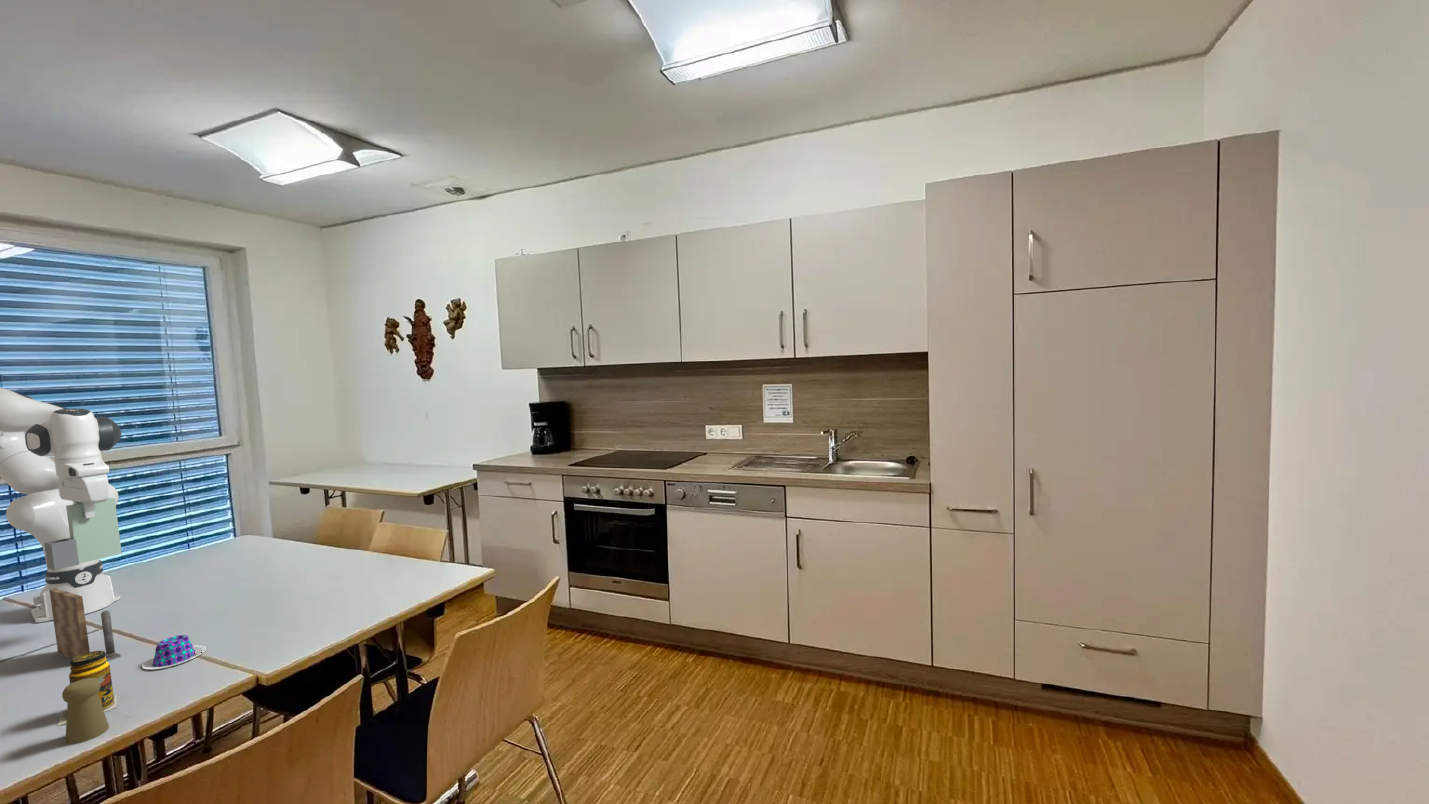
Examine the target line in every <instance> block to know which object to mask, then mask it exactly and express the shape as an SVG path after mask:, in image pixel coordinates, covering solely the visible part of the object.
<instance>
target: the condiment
mask: <svg viewBox="0 0 1429 804" xmlns="http://www.w3.org/2000/svg"><path fill="white" fill-rule="evenodd" d="M106 660H107V659H106V651H105V650H93V651H90V652H88V653H85V654H82V655H79V656H77V657H75V658H74V659H72V658H71V660H70V661H69V662H70V663H69V664H70V667H69V669H70V671H69V674H68V678H69V685H70V684H72V683H74V682H76V681H79V680H82V679H87V678H96V679H97V680H99V682H100V685H101V686H100V690H99V692H98V696H99V699H100V702H101V705H102V708H103V711H104V713H105V712H107V711H111V710H114V709H115V708H116V709H117V704H118V703H117V701H118V694H115V695H114V689H113V688H114V687H113V682H112V681H113V680H112V672H111V665H110V663H109V661H106ZM66 722H67V709H65V710H61V712H60V717H59V721H58V725H57V726H58V727H60V726H62V725H66Z"/></svg>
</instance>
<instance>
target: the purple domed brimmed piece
mask: <svg viewBox="0 0 1429 804" xmlns="http://www.w3.org/2000/svg"><path fill="white" fill-rule="evenodd" d="M193 646H194V647H199V648H202V650H203V651H202V653H200V654H198V655H196V654H195V652H196V651H195V650H194V648H193ZM206 649H207V647H206V646H205V645H200V644H194V645H193V644H192V642H191V640H190V638H189V635H186V634H182V635H181V634H179V635H175V636H174V635H173V636H170V637H169V636H168V637H167V638H165V639H162V640H161V641H159V642H158V643H157V644H156V647H155V651H154V656H152V657H151V658H149V659H147V660H145V661H144V662H143V663H142V665H141V667H142V668H141V669H145V670H159V669H164V668H171V667H173V666H177V665H180V664H184V663H186V662H188V661H190V660H193V659H195V658H197V657H199V656H200V655H202V654H203V653H204V652H205V651H206ZM194 654H195V655H196V656H195V655H194ZM193 655H194V656H193ZM187 659H189V660H187Z"/></svg>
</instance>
